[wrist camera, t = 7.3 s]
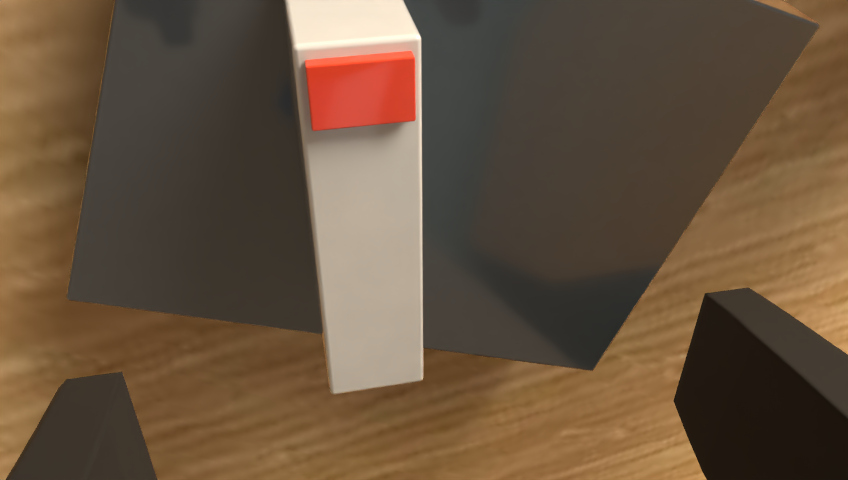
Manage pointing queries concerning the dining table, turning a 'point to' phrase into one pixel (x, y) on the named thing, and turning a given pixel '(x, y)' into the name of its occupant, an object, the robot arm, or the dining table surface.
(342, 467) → the dining table surface
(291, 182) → the tap deck
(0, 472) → the dining table surface
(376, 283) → the tap lever
